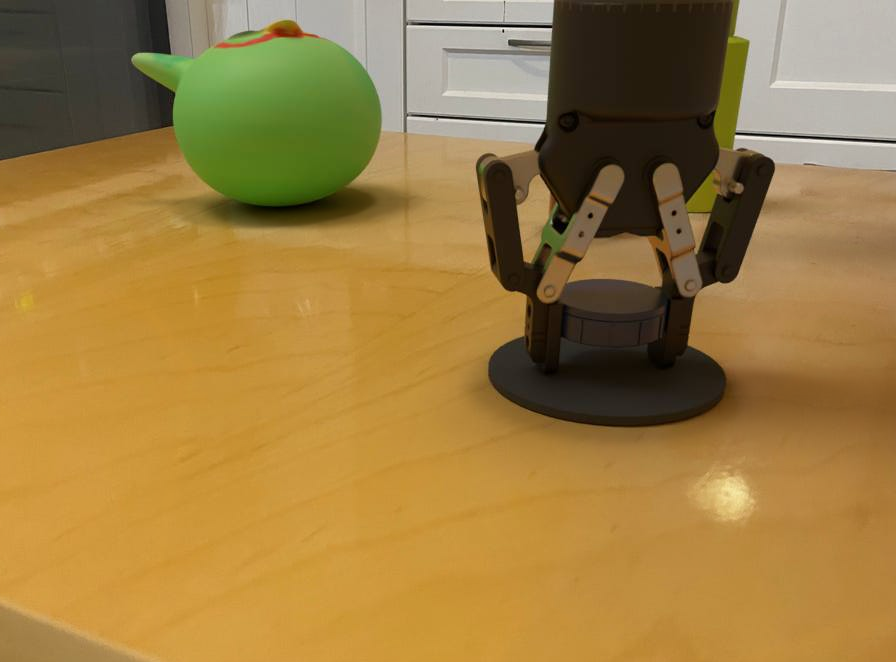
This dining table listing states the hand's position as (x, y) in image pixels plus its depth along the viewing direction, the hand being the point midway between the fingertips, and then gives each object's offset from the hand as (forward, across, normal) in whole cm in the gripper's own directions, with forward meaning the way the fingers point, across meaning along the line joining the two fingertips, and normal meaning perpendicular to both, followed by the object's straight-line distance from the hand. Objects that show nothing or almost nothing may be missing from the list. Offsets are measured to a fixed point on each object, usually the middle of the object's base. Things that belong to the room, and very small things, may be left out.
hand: (603, 363), depth 48 cm
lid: (-3, 0, 0) cm, 3 cm away
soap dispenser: (+1, +20, +37) cm, 42 cm away
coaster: (+1, 0, 0) cm, 1 cm away
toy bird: (+1, -16, +43) cm, 46 cm away
